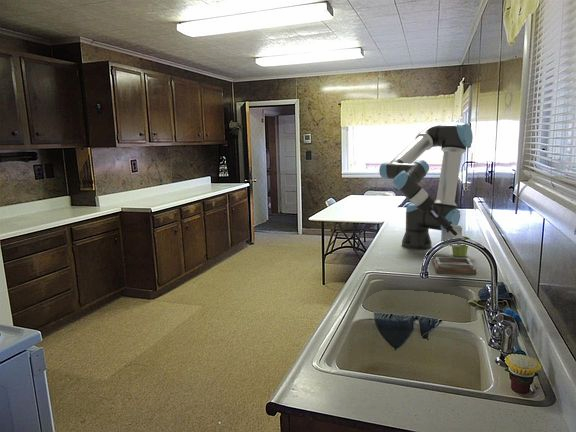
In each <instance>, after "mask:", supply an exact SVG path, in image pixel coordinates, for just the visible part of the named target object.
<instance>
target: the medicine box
mask: <svg viewBox="0 0 576 432" xmlns="http://www.w3.org/2000/svg"><path fill="white" fill-rule="evenodd" d="M451 226H452V227H454V228H455V229H456V230H457V231H458V232H459V233H460V234H461V235H462V236H463V228H462V227H463V226H461V225H459V224H458V225H451ZM446 231H447V230H446V229H445V228H444V227H443V226H442V231H440V233H441V236H440V237H441V238H440V243H441V242H442V241H445V240H448V239H453V238H455V237H453V236H452V235H451V234H450V233H449V232H446ZM452 246H456V247H461V244H457V245H450V246H449V247H452Z"/></svg>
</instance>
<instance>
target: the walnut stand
mask: <svg viewBox="0 0 576 432" xmlns="http://www.w3.org/2000/svg"><path fill="white" fill-rule="evenodd" d="M432 266H433V267H434V270H435V272H436V274H455V275H457V274H459V275H476V274H477V269H476V268H475V266H474V264H473V262H472V261H471V259H470V257H455V256H454V257H450V256H445V257H444V256H435V257H434V258H432Z"/></svg>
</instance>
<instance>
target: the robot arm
mask: <svg viewBox="0 0 576 432" xmlns="http://www.w3.org/2000/svg"><path fill="white" fill-rule="evenodd" d="M473 137H474V136H473V131H472V127H471V126H470V124H468V123H466V122H447V123H444V122H443V123H441V122H440V123H434V124H432V125H430V126H428V127H426V128H425V129H423V130H422V131H420V132H419V133H418V134H417V135H416V136H415V139H414V140H413V141H412V142H411V143H410V144H409V145H408V146H406V147H405V148H404V149H403V150H402V151H401V152H400V153H398V154H397V155H396V157H394V158H393V159H392V160H391V161H390V162H382V163H381V164H380V166H379V168H378V169H379V170H378V171H379V172H378V173H379V176H380V177H381V178H383V179H388V180H392V182H391V183H392V184H393V185H394V186H395V188H396V189H397V190H398V191H399V192H400V193H402V195H404V196H405V197H406V198H407V200H409V203H408V204H407V205H406V211H405V232H404V235H403V237H402V240H401V246H402V247H404V248H406V249H411V250H427V249H431V248H432V246H433V245H432V239H431V236H430V233H429V230H435V231H440V232H442V226H443V227H444V228H445V229H446V230H447V231H446V232H449V233H450V234H451V235H452V236H453V237H455V238H464V237H463V236H464V235H463V234H462V235H461V234H460V233H459V232H458V231H457V230H456V229H455V228H454V227H452V226H451V225H459V223H460V220H461V210H459V208H458V205H457V203H456V202H455V200H456V195H457V187H458V182H459V176H460V169H461V163H462V162H461V161H462V156H463V154H464V153H465V152H466V151H467V148H469V147H471V146H472V142H473V139H474V138H473ZM434 147H436V148H437V147H440V149H441V151H442V152H443V155H442V163H441V168H440V175H439V182H438V188H437V194H436V198H435V199H433V197H432V196H431V195H429V193H428V192H427V191H426V190H425V189H424V188H423V187H422V186H421V185H420V183H421V182H422V181H423V179H424V178H425V177H426V176H427V174H428V173H429V171H430V166H429V164H428V162H427V161H425V159H424V160H423V159H419V157H421V155H423V153H425V152H426V151H429V150H431V149H433V148H434Z"/></svg>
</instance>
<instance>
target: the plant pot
mask: <svg viewBox="0 0 576 432" xmlns="http://www.w3.org/2000/svg"><path fill="white" fill-rule="evenodd" d="M462 236H463V237H464V238H465V239H470V241H471V239H472V238H471V237H468V236H465V235H462ZM451 249H452V255H453V256H454V257H456V258H465V257H466V256H467V253H468V249H469V245H468V246H466V245H461V247H456V246H451Z"/></svg>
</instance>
